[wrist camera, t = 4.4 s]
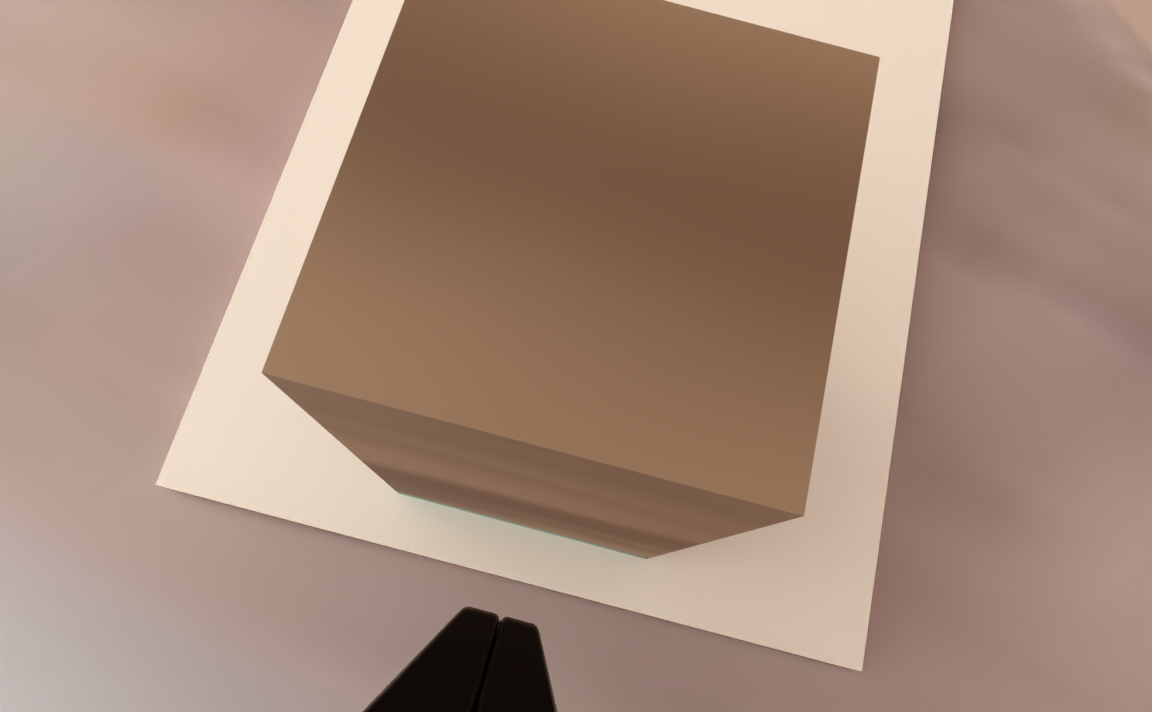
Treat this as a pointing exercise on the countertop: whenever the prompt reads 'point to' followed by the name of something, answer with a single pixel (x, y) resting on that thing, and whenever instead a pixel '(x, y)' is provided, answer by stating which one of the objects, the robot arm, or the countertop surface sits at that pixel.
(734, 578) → the cream board
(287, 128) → the countertop surface
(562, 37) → the walnut block
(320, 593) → the countertop surface
